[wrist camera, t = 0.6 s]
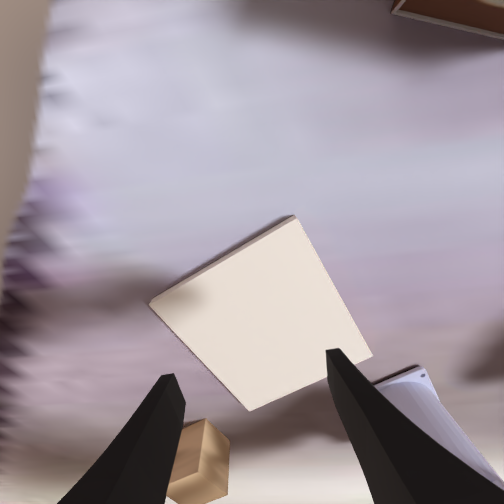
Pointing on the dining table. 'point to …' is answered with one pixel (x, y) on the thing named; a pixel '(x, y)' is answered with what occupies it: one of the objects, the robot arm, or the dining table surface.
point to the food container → (457, 14)
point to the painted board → (263, 316)
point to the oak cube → (200, 465)
